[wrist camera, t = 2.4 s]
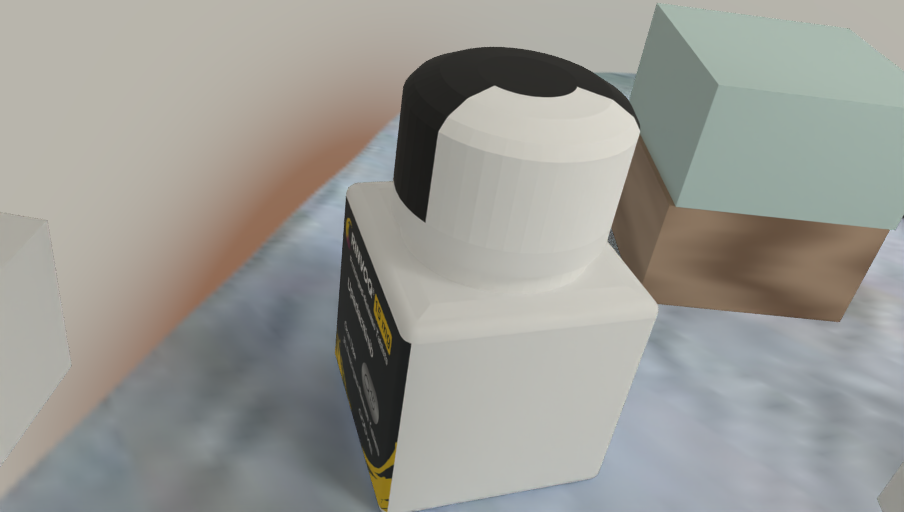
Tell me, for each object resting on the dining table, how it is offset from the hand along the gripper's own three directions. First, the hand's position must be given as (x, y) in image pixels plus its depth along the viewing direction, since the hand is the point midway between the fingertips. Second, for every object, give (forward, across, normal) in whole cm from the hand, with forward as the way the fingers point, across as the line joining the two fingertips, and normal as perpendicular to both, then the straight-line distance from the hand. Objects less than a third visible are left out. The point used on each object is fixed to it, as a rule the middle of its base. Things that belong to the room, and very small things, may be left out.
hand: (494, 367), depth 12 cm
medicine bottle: (+10, 0, -11) cm, 15 cm away
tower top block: (+23, +12, -6) cm, 26 cm away
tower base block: (+23, +12, -11) cm, 28 cm away
